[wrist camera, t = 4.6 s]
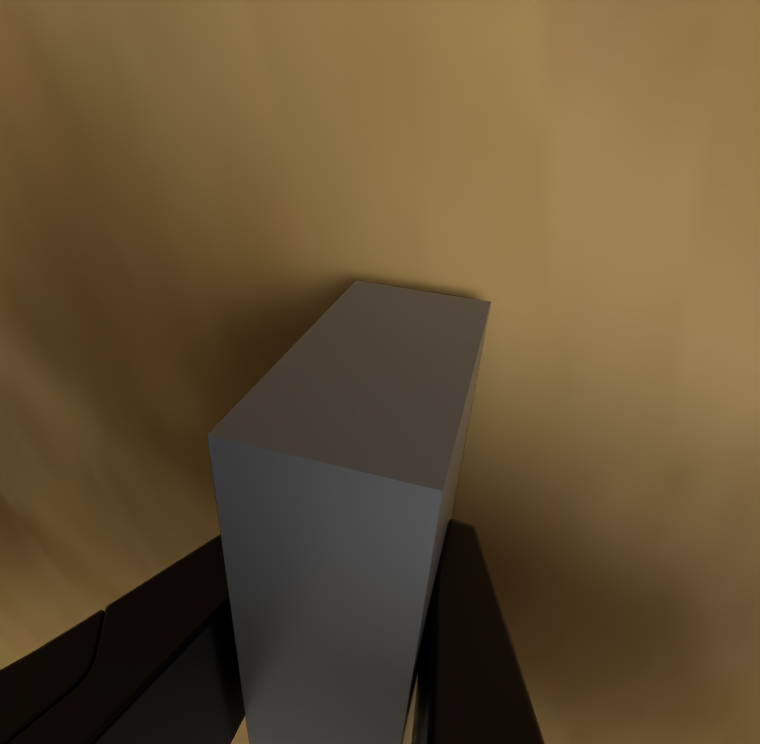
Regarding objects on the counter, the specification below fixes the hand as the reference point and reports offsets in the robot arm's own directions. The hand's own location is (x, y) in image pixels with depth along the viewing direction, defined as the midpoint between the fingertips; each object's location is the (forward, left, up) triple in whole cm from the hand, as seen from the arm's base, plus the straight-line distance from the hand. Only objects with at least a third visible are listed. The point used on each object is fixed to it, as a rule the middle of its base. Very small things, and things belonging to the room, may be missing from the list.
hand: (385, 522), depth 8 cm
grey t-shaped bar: (0, +7, -1) cm, 8 cm away
